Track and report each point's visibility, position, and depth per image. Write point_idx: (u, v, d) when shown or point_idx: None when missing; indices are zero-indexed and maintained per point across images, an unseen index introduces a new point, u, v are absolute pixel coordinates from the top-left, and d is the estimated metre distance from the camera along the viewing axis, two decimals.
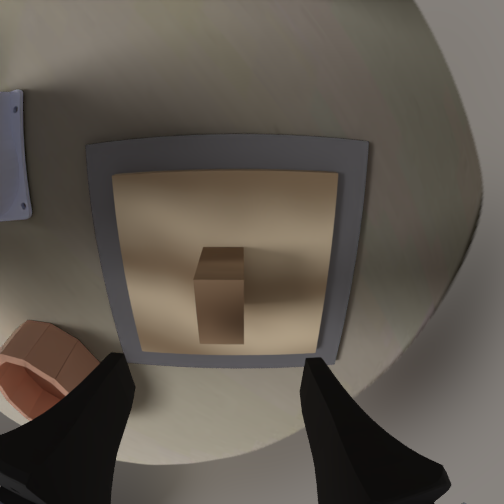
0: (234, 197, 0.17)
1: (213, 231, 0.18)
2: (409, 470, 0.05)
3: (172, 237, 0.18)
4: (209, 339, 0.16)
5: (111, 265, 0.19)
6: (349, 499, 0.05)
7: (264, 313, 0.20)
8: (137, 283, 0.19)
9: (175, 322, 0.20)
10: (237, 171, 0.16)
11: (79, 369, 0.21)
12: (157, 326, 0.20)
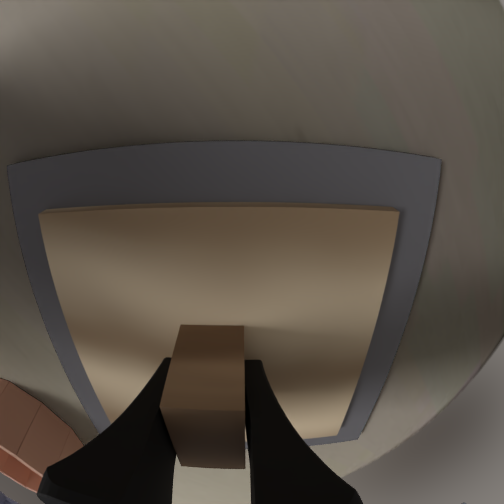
0: (228, 252, 0.10)
1: (195, 303, 0.11)
2: (314, 490, 0.05)
3: (133, 309, 0.11)
4: (194, 463, 0.09)
5: (59, 333, 0.12)
6: None
7: None
8: (94, 361, 0.12)
9: None
10: (233, 208, 0.10)
11: (45, 439, 0.14)
12: None
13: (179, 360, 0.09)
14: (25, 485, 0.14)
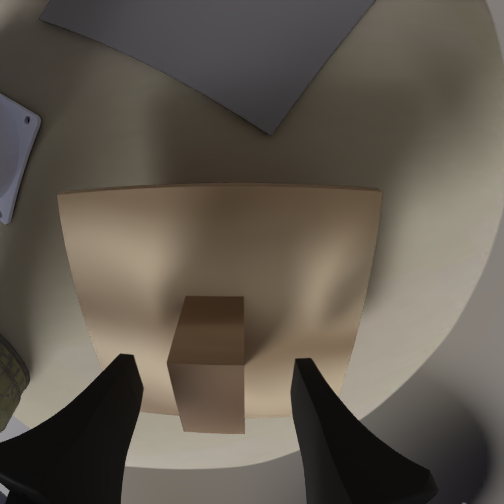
0: (230, 226, 0.11)
1: (199, 275, 0.12)
2: (395, 474, 0.05)
3: (142, 282, 0.12)
4: (196, 428, 0.10)
5: (137, 42, 0.12)
6: (333, 502, 0.05)
7: (271, 375, 0.14)
8: (102, 336, 0.13)
9: (155, 383, 0.15)
10: (234, 187, 0.11)
11: None
12: None
13: (184, 324, 0.11)
14: None
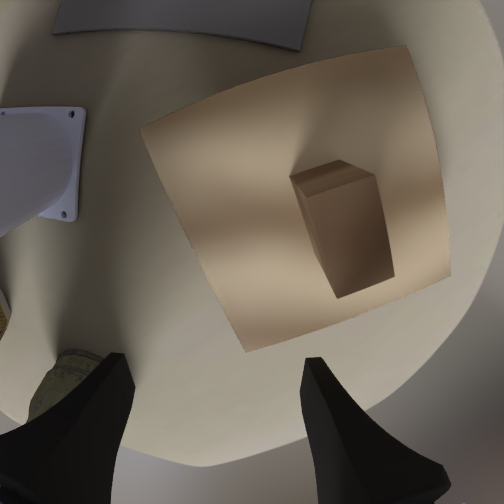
0: (306, 99, 0.12)
1: (295, 150, 0.13)
2: (409, 470, 0.05)
3: (245, 177, 0.13)
4: (349, 287, 0.11)
5: (157, 17, 0.14)
6: (349, 499, 0.05)
7: None
8: (215, 260, 0.15)
9: (280, 296, 0.15)
10: (298, 67, 0.11)
11: None
12: (258, 311, 0.16)
13: (303, 182, 0.11)
14: None
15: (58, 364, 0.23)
